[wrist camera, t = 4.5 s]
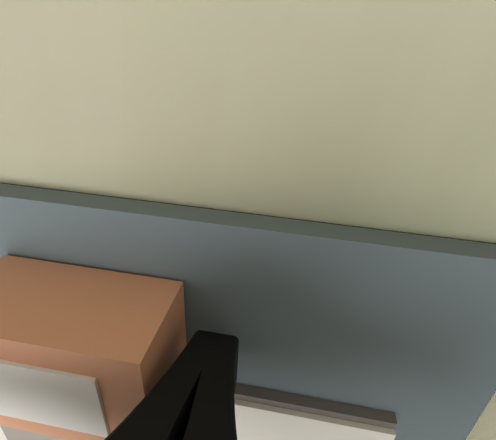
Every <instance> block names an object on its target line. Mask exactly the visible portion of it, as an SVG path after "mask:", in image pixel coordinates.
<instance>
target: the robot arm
mask: <svg viewBox="0 0 496 440" xmlns="http://www.w3.org/2000/svg"><path fill="white" fill-rule="evenodd" d="M238 348H239V339H238V338H237V337H236V336H233V335H227V334H221V333H215V332H209V331H203V330H198V331H196V332H195V333H194V335H193V337H192V338H191V339H190V341H189V342H188V344H187V345H186V347H185V348H184V349H183V351H182V352H181V353H180V355H179V356H178V357H177V359H176V360H175V361H174V363H173V364H172V365H171V366H170V368H169V369H168V370H167V371H166V373H165V374H164V375H163V376H162V377H161V379H160V380H159V381H158V382H157V383H156V385H155V386H154V387H153V388H152V389H151V391H150V392H149V393H148V394H147V395H146V396H145V397H144V398H143V399H142V401H141V402H140V403H139V404H138V405H137V406H136V407H135V408H134V409H133V410H132V411H131V413H130V414H129V415H128V416H127V417H126V418H125V419H124V420H123V421H122V422H121V423H120V424H119V425H118V426H117V427H116V428H115V429H114V430H113V431H112V432H111V433H110V434H109V435H108V436H107V437H106V438H105V439H104V440H237V431H236V420H235V401H234V394H235V387H236V381H237V367H238Z"/></svg>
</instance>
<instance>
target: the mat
mask: <svg viewBox="0 0 496 440" xmlns="http://www.w3.org/2000/svg"><path fill="white" fill-rule="evenodd" d="M4 255H9V256H16V257H23V258H29V259H36V260H43V261H49V262H56V263H62V264H69V265H76V266H82V267H89V268H96V269H102V270H109V271H115V272H122V273H129V274H135V275H142V276H148V277H155V278H162V279H168V280H175V281H182V282H183V288H184V306H185V325H186V343H187V344H188V342H189V341H190V339H191V338H192V337H193V335H194V333H195V332H196V331H198V330H203V331H209V332H215V333H221V334H227V335H233V336H236V337H237V338H238V339H239V348H238V367H237V381H236V383H237V384H243V385H248V386H253V387H259V388H264V389H270V390H275V391H280V392H286V393H291V394H297V395H302V396H307V397H313V398H318V399H324V400H329V401H334V402H340V403H345V404H351V405H356V406H361V407H367V408H372V409H378V410H383V411H388V412H394V413H395V416H396V421H397V426H396V428H395V433H396V437H395V439H394V440H465V439H466V438H467V436H468V435H469V433H470V431H471V430H472V428H473V427H474V425H475V423H476V422H477V420H478V418H479V417H480V415H481V414H482V412H483V410H484V409H485V407H486V406H487V404H488V402H489V401H490V399H491V398H492V396H493V394H494V393H495V391H496V244H491V243H482V242H474V241H466V240H458V239H450V238H442V237H434V236H425V235H417V234H409V233H401V232H393V231H385V230H377V229H369V228H360V227H352V226H344V225H336V224H328V223H320V222H312V221H303V220H295V219H287V218H279V217H271V216H263V215H255V214H246V213H238V212H230V211H222V210H214V209H206V208H198V207H189V206H181V205H173V204H165V203H157V202H149V201H141V200H132V199H124V198H116V197H108V196H100V195H92V194H84V193H75V192H67V191H59V190H51V189H43V188H35V187H27V186H19V185H10V184H2V183H0V258H1V257H2V256H4Z"/></svg>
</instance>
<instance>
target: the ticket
mask: <svg viewBox="0 0 496 440" xmlns="http://www.w3.org/2000/svg"><path fill="white" fill-rule="evenodd" d="M234 401H235V420H236V431H237V440H394V439H395V437H396V433H395V428H396V426H397V421H396V416H395V413H394V412H388V411H383V410H378V409H372V408H367V407H361V406H356V405H351V404H345V403H340V402H334V401H329V400H324V399H318V398H313V397H307V396H302V395H297V394H291V393H286V392H280V391H275V390H270V389H264V388H259V387H253V386H248V385H243V384H237V383H236V387H235V394H234ZM0 440H65V439H60V438H55V437H51V436H46V435H42V434H37V433H33V432H28V431H24V430H19V429H14V428H10V427H5V426H1V425H0Z"/></svg>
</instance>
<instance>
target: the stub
mask: <svg viewBox="0 0 496 440" xmlns="http://www.w3.org/2000/svg"><path fill="white" fill-rule="evenodd" d="M186 345H187V343H186V325H185V306H184V288H183V282H182V281H175V280H168V279H162V278H155V277H148V276H142V275H135V274H129V273H122V272H115V271H109V270H102V269H96V268H89V267H82V266H76V265H69V264H62V263H56V262H49V261H43V260H36V259H29V258H23V257H16V256H9V255H4V256H2V257H1V258H0V425H1V426H5V427H10V428H14V429H19V430H24V431H28V432H33V433H37V434H42V435H46V436H51V437H55V438H60V439H65V440H104V439H105V438H106V437H107V436H108V435H109V434H110V433H111V432H112V431H113V430H114V429H115V428H116V427H117V426H118V425H119V424H120V423H121V422H122V421H123V420H124V419H125V418H126V417H127V416H128V415H129V414H130V413H131V411H132V410H133V409H134V408H135V407H136V406H137V405H138V404H139V403H140V402H141V401H142V399H143V398H144V397H145V396H146V395H147V394H148V393H149V392H150V391H151V389H152V388H153V387H154V386H155V385H156V383H157V382H158V381H159V380H160V379H161V377H162V376H163V375H164V374H165V373H166V371H167V370H168V369H169V368H170V366H171V365H172V364H173V363H174V361H175V360H176V359H177V357H178V356H179V355H180V353H181V352H182V351H183V349H184V348H185V347H186Z"/></svg>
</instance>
